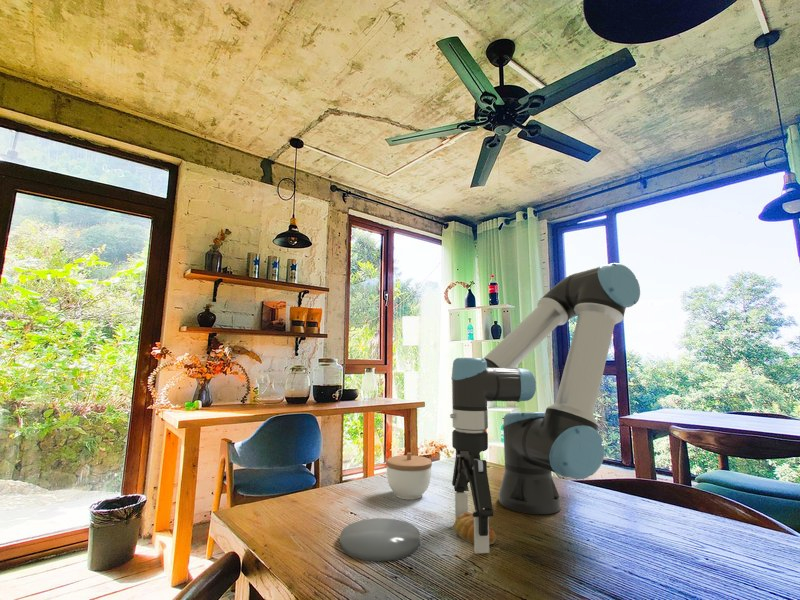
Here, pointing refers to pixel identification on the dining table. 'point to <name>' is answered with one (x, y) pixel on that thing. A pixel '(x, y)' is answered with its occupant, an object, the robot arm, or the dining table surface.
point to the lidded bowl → (408, 475)
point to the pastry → (470, 528)
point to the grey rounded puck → (380, 539)
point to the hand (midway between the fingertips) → (470, 537)
